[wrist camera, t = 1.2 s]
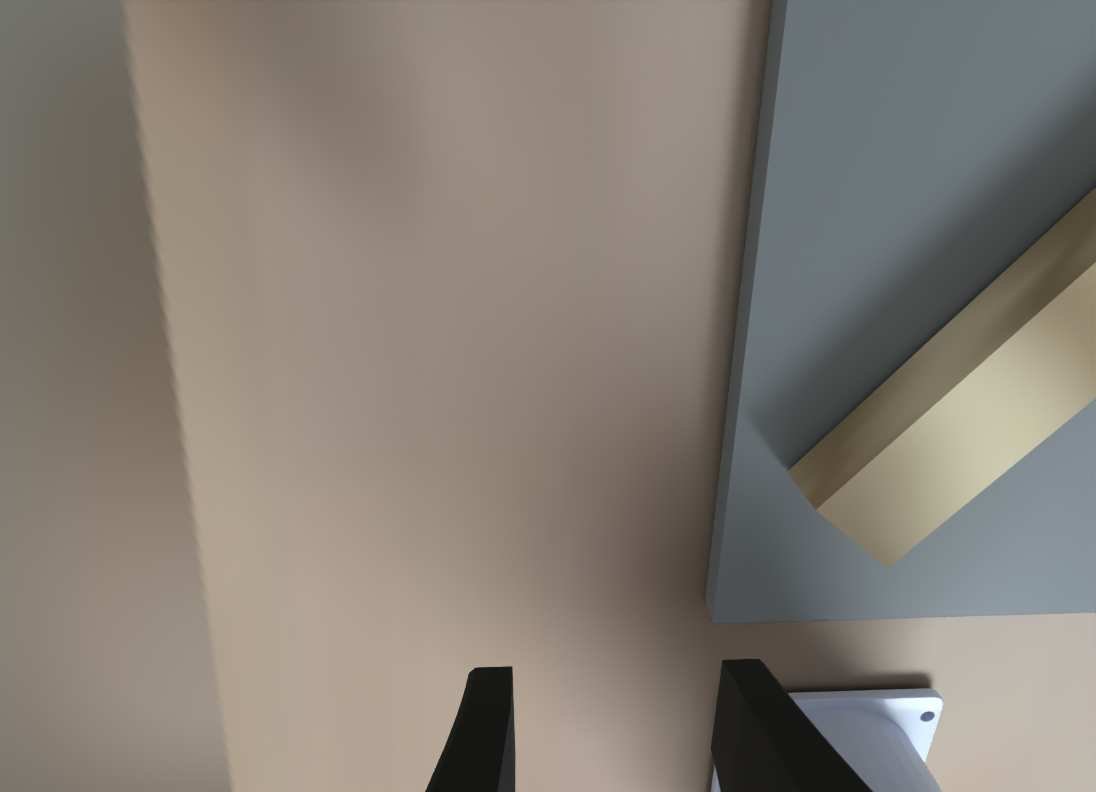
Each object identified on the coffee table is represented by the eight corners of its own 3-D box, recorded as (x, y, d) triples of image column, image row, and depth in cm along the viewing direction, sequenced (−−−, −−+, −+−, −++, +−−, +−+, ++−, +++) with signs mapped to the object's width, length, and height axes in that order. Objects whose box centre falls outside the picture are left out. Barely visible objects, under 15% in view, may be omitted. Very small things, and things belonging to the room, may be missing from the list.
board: (1217, 588, 23) (1246, 608, 22) (704, 602, 22) (712, 623, 21) (1594, -175, 14) (1666, -194, 13) (792, -182, 14) (812, -204, 13)
